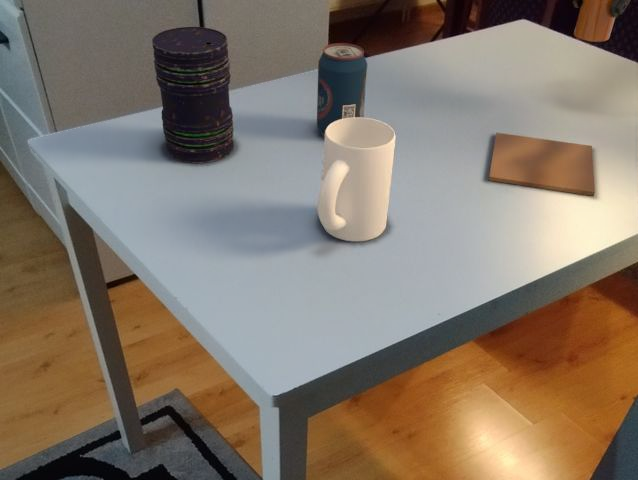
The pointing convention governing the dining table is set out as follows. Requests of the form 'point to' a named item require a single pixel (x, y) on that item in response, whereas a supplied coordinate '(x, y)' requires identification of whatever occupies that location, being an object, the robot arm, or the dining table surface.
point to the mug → (356, 178)
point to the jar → (594, 20)
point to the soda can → (340, 84)
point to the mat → (543, 164)
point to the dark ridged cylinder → (194, 93)
